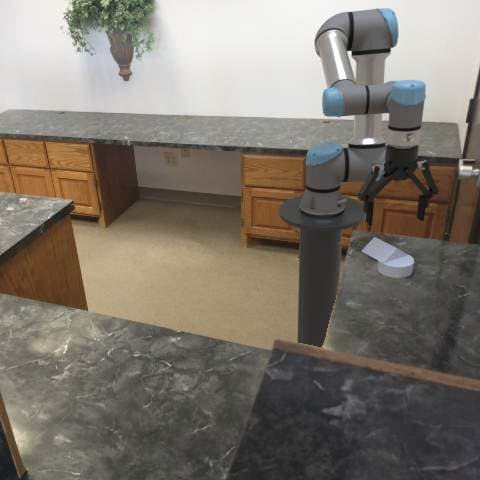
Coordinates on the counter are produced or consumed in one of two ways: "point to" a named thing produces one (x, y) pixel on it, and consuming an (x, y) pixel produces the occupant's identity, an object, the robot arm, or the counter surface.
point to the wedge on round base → (389, 259)
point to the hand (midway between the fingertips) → (394, 221)
